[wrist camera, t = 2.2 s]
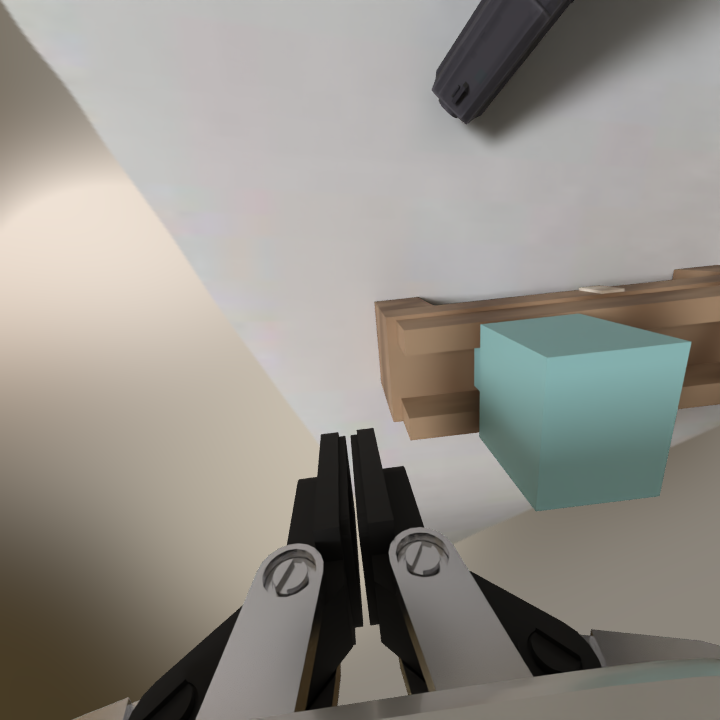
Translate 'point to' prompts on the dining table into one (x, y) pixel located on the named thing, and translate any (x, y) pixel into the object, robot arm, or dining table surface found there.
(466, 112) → the handgun
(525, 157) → the dining table surface
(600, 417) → the teal rectangular block
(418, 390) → the beam
